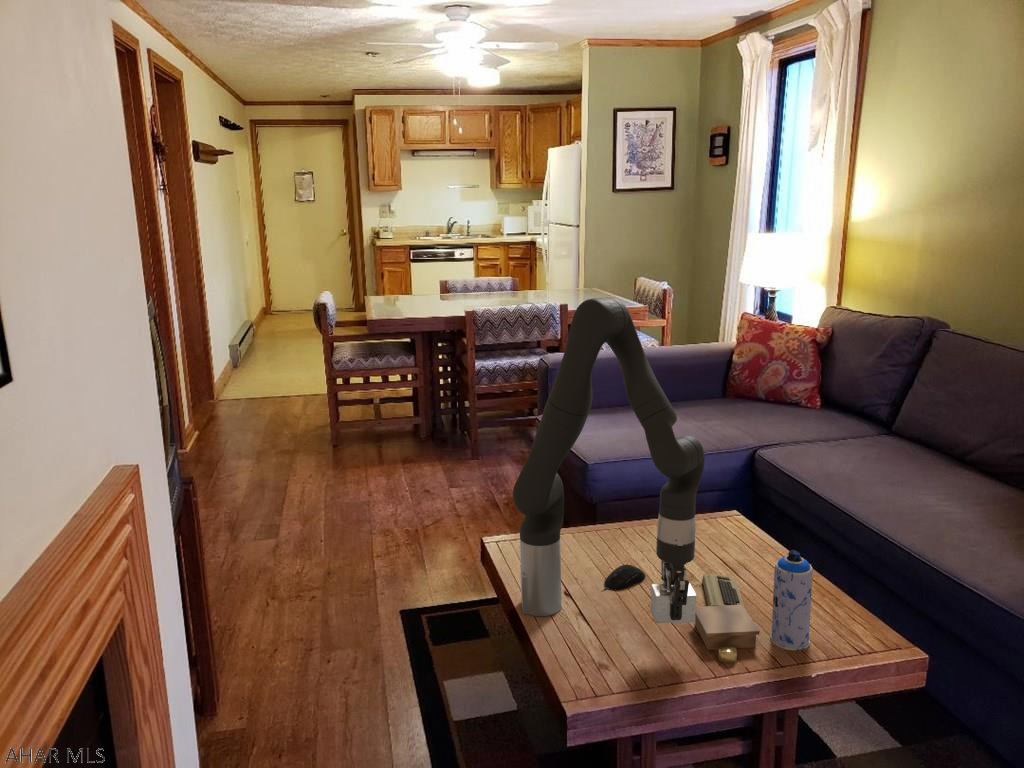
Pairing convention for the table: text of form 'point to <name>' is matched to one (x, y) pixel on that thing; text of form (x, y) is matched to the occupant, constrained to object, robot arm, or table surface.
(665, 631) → the table surface
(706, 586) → the computer
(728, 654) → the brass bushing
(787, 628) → the aerosol can
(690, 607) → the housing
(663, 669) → the table surface
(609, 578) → the gaming mouse
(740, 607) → the stand
